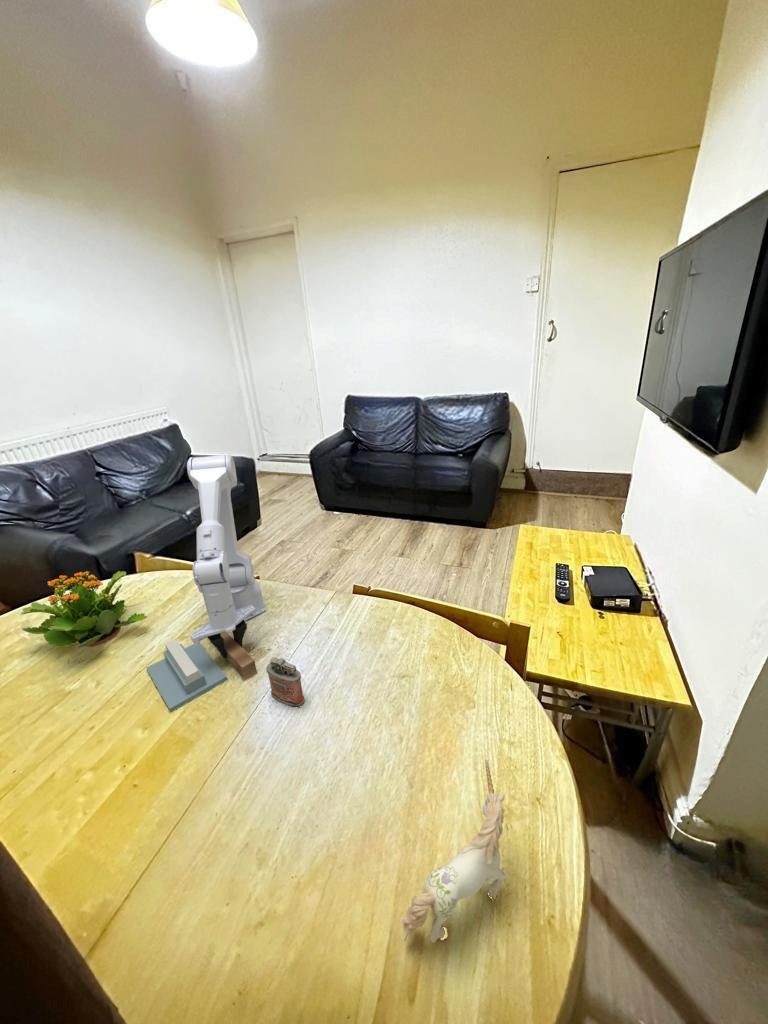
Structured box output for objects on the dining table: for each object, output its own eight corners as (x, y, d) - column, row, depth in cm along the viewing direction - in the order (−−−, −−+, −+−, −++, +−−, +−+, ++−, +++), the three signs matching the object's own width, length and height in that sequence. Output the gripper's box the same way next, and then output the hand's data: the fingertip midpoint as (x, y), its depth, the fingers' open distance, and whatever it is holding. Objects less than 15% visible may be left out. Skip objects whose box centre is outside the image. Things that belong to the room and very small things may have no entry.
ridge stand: (147, 670, 95) (140, 652, 93) (199, 644, 102) (194, 626, 100) (170, 712, 84) (163, 692, 82) (227, 679, 91) (222, 660, 89)
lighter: (267, 697, 87) (260, 660, 83) (278, 685, 89) (271, 649, 85) (298, 711, 83) (291, 673, 79) (308, 698, 86) (302, 662, 82)
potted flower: (172, 609, 116) (156, 555, 109) (114, 673, 94) (89, 611, 87) (90, 606, 119) (69, 553, 112) (16, 668, 97) (-16, 607, 90)
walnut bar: (210, 642, 103) (207, 630, 101) (222, 636, 105) (218, 624, 103) (245, 681, 91) (241, 667, 89) (257, 673, 93) (254, 660, 91)
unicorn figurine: (524, 851, 60) (534, 792, 54) (445, 999, 47) (448, 941, 41) (480, 815, 64) (485, 758, 59) (398, 941, 51) (395, 882, 46)
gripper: (193, 628, 85) (207, 678, 90) (258, 598, 94) (267, 645, 99) (181, 613, 89) (195, 661, 95) (244, 586, 98) (253, 631, 104)
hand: (231, 652), depth 97 cm, fingers closed on walnut bar, 3 cm apart
